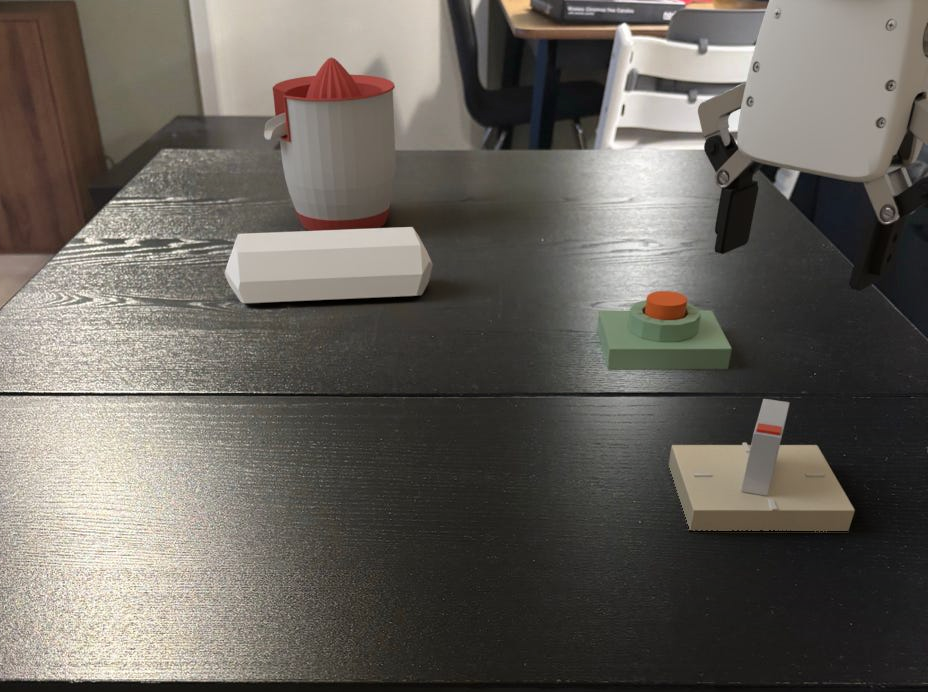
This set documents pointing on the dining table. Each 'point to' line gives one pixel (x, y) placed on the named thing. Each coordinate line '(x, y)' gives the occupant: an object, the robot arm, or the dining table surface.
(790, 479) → the plate
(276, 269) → the crystal
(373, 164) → the citrus juicer
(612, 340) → the button block
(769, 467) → the tap handle
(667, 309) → the button
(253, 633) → the dining table surface
